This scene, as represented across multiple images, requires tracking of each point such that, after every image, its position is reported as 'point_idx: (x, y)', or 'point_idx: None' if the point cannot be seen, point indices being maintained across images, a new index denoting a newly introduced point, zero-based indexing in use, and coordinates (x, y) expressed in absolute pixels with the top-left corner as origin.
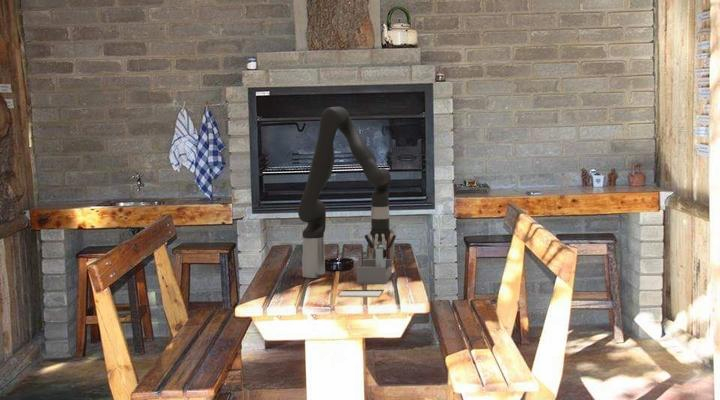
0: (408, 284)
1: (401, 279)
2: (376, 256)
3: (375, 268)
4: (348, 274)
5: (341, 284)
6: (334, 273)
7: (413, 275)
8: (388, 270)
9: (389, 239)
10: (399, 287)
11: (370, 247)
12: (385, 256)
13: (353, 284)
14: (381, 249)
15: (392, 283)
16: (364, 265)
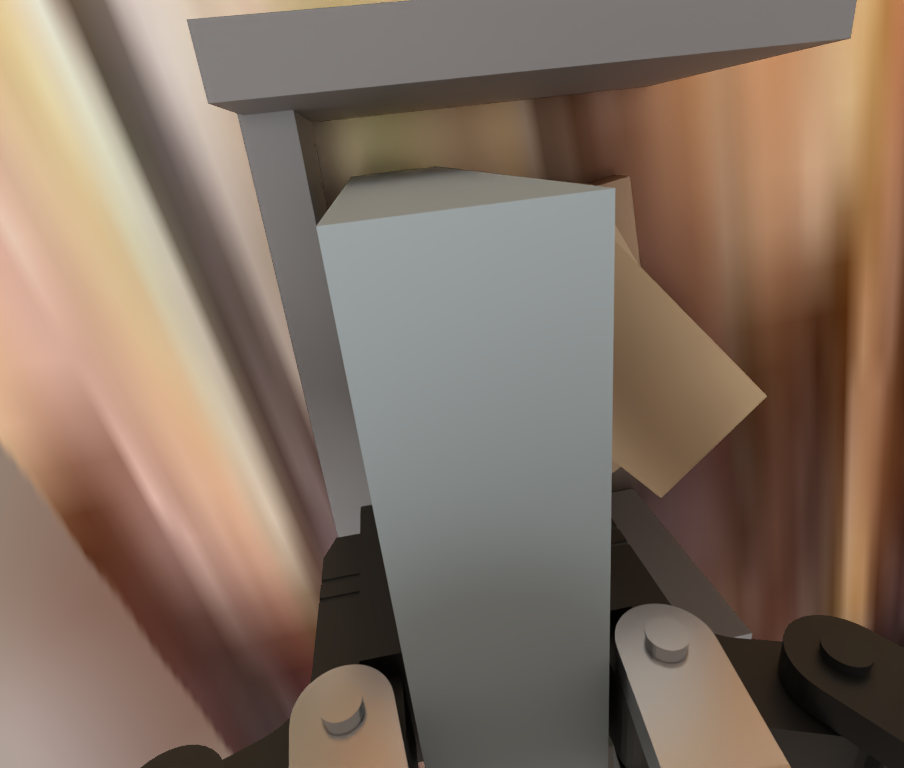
0: (24, 288)
1: (237, 518)
2: (499, 183)
3: (434, 3)
4: (770, 584)
5: (828, 149)
6: (877, 588)
7: (193, 688)
8: (312, 418)
9: None
10: (49, 64)
11: (845, 628)
12: (347, 546)
13: (698, 172)
14: (399, 495)
15: (257, 309)
16: (687, 578)
